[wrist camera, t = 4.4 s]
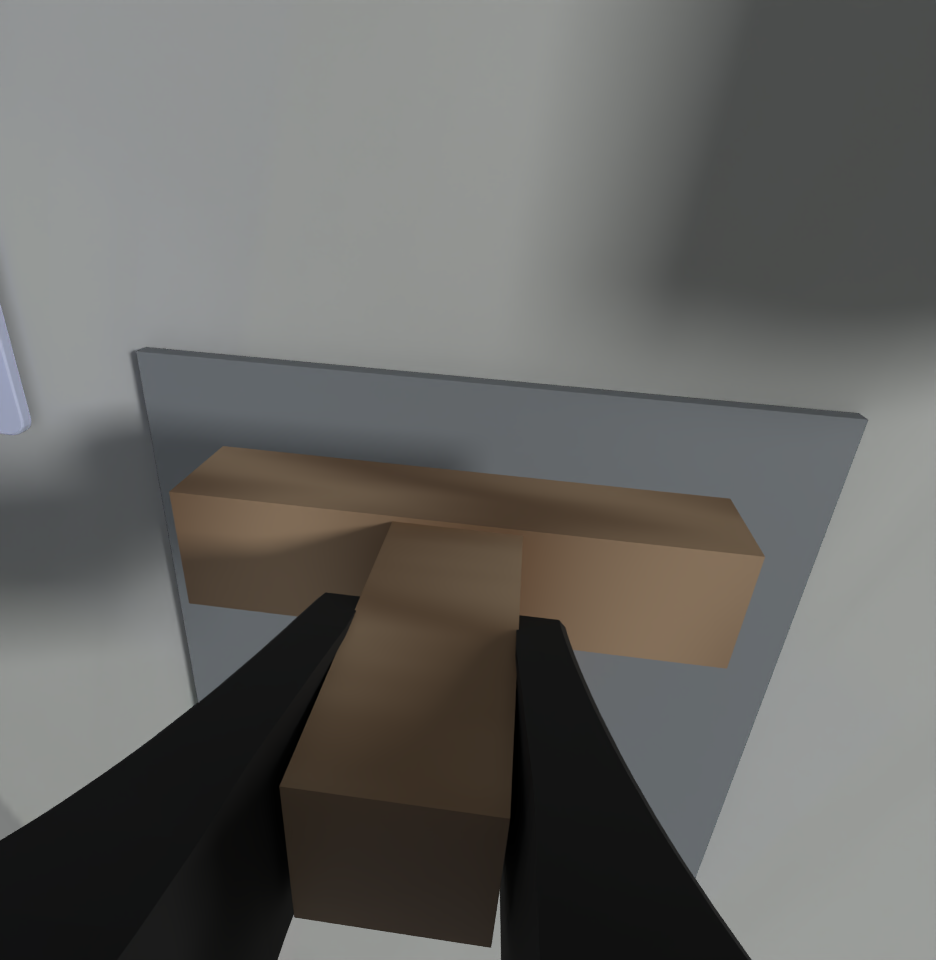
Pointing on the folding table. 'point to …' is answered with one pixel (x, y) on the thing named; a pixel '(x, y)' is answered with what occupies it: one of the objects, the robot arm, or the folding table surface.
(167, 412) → the slate board
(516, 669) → the robot arm
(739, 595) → the brown t-shaped block
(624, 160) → the folding table surface
